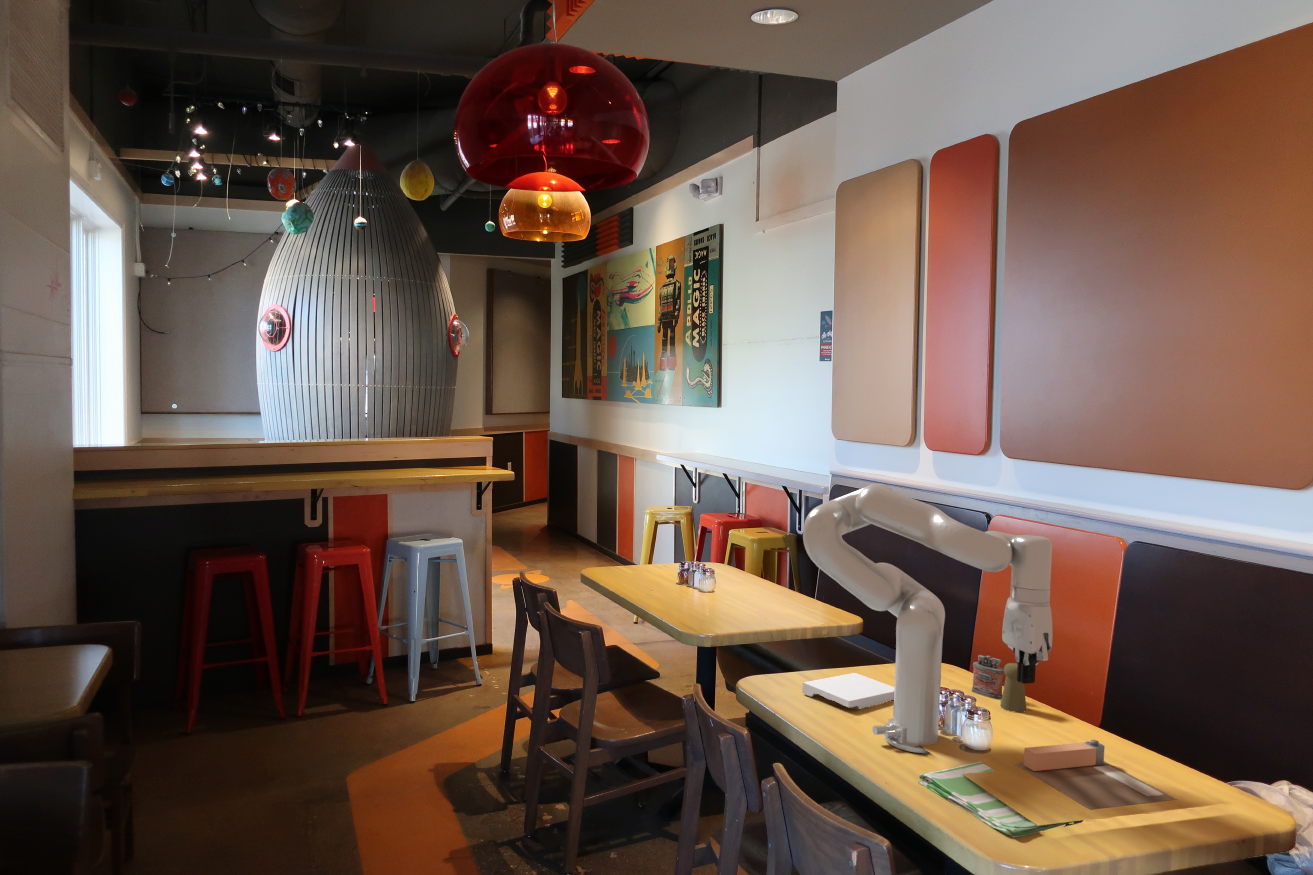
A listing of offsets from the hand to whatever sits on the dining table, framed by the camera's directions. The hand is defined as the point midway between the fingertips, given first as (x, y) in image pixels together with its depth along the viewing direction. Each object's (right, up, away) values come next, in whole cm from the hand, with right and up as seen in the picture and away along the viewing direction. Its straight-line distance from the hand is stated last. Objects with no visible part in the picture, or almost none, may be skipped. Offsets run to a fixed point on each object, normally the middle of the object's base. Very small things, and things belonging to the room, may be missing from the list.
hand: (1025, 681), depth 176 cm
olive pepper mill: (+12, -16, +33) cm, 39 cm away
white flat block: (-28, -15, +37) cm, 49 cm away
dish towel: (-14, -18, -19) cm, 29 cm away
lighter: (+9, -16, +43) cm, 47 cm away
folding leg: (+6, -15, -5) cm, 17 cm away
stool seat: (+8, -18, -11) cm, 22 cm away
